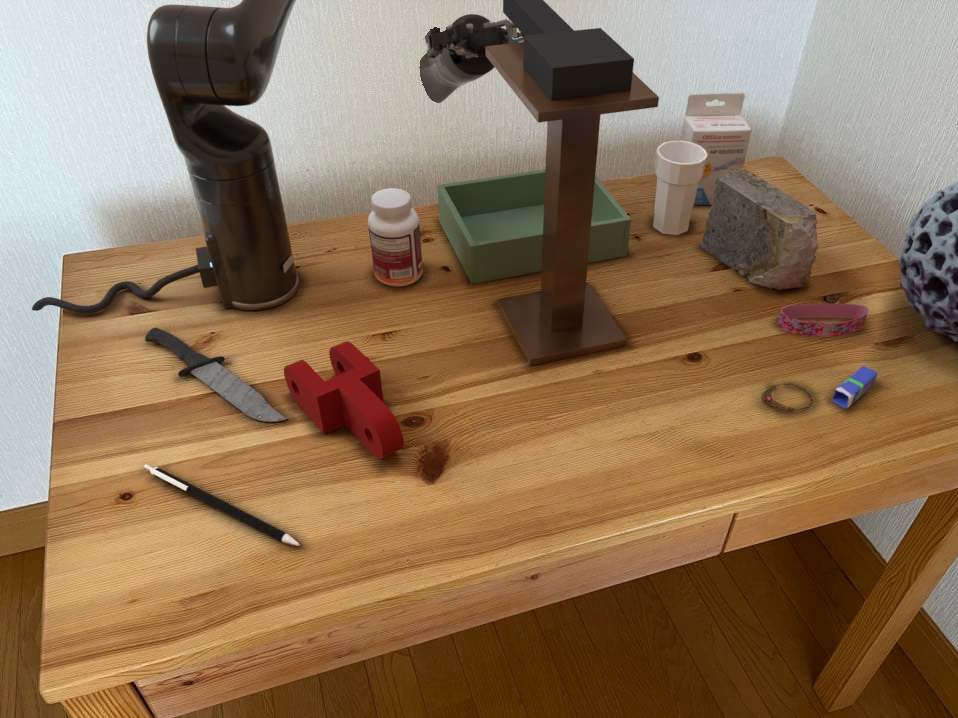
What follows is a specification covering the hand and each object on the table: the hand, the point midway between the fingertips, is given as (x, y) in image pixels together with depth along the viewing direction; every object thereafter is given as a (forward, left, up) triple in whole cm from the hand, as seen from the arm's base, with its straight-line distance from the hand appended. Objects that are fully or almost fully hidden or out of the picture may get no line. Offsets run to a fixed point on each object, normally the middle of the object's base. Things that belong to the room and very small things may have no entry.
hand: (499, 26), depth 101 cm
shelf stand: (0, -22, -27) cm, 34 cm away
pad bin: (+3, -5, -27) cm, 27 cm away
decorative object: (+48, -42, -26) cm, 69 cm away
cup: (+23, -7, -27) cm, 36 cm away
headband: (+31, -34, -23) cm, 51 cm away
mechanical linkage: (-26, -33, -27) cm, 50 cm away
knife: (-42, -23, -26) cm, 54 cm away
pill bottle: (-16, -8, -27) cm, 32 cm away
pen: (-40, -40, -27) cm, 63 cm away
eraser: (+26, -44, -26) cm, 57 cm away
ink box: (+31, -2, -27) cm, 41 cm away
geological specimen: (+27, -12, -21) cm, 36 cm away
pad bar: (0, -17, +3) cm, 17 cm away
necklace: (+19, -44, -27) cm, 55 cm away
